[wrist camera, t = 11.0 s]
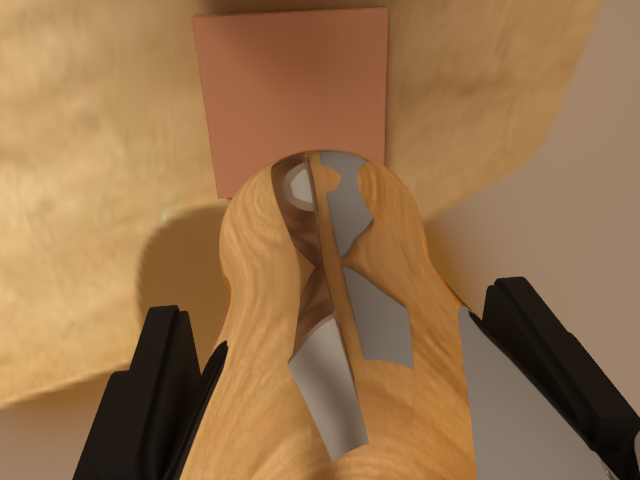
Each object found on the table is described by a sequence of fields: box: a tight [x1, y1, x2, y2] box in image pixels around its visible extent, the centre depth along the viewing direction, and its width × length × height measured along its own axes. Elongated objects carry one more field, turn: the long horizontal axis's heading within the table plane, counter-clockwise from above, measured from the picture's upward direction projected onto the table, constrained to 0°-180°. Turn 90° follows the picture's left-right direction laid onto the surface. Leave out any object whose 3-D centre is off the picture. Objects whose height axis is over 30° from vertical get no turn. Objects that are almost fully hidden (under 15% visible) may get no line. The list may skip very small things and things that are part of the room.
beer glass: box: [161, 149, 622, 480], centre depth 9 cm, size 7×7×15 cm
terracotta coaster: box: [192, 6, 388, 199], centre depth 29 cm, size 10×10×1 cm
